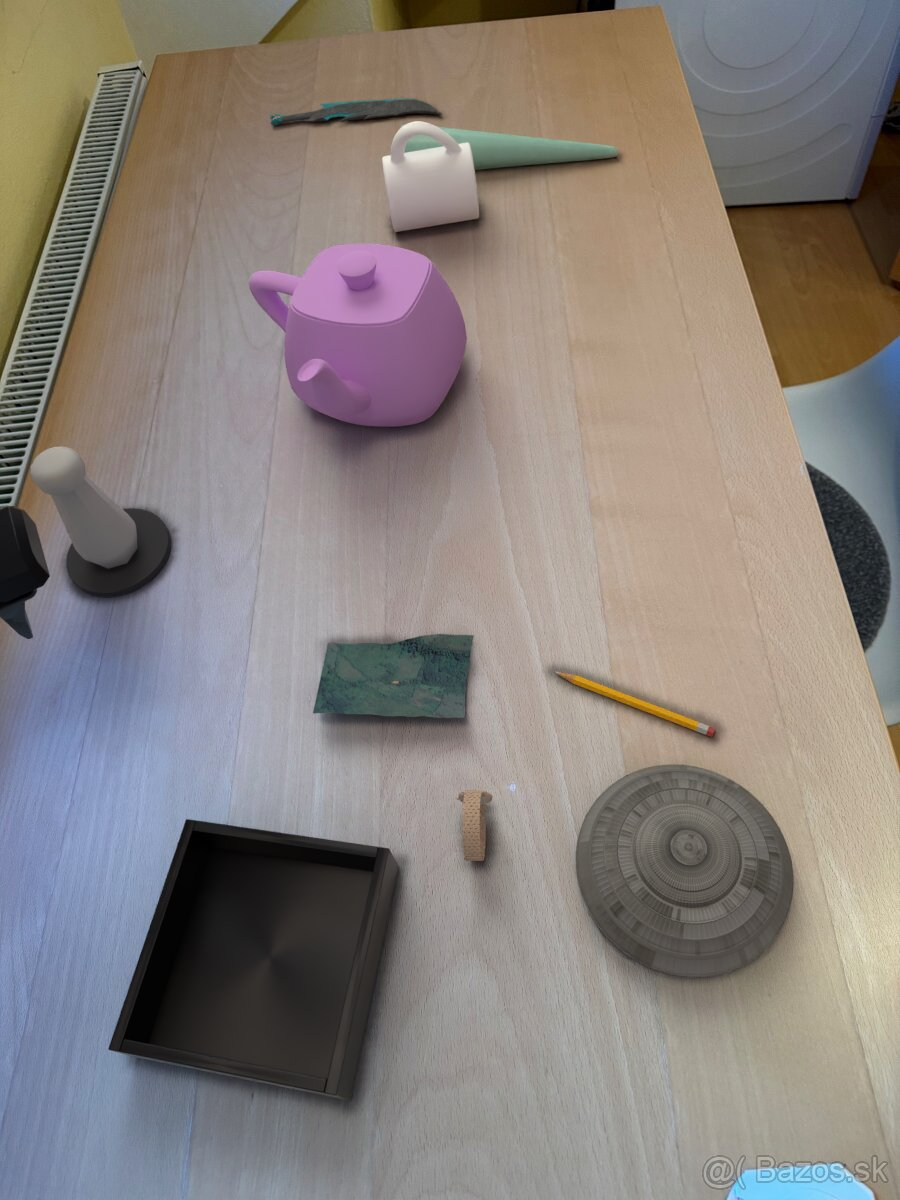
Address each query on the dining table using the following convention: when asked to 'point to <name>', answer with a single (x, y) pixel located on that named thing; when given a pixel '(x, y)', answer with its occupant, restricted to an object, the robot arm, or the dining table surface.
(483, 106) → the dining table surface
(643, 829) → the flying saucer
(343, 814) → the dining table surface
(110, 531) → the salt shaker
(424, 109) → the knife
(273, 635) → the dining table surface
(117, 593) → the disc
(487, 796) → the perforated watch strap
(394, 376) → the teapot
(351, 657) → the terrain model
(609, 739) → the dining table surface
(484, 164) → the long green cone
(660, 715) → the pencil
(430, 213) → the mug
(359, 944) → the tin
